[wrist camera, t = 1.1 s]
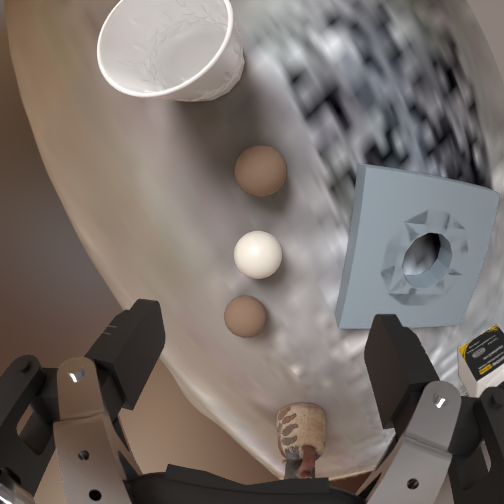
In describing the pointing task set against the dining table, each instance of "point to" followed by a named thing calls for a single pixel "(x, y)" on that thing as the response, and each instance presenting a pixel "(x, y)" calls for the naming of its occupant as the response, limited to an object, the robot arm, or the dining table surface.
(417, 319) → the blue-grey square plate
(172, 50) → the white cup
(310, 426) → the figurine
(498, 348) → the medicine bottle
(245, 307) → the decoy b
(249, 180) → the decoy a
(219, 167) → the dining table surface
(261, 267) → the ball
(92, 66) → the dining table surface
